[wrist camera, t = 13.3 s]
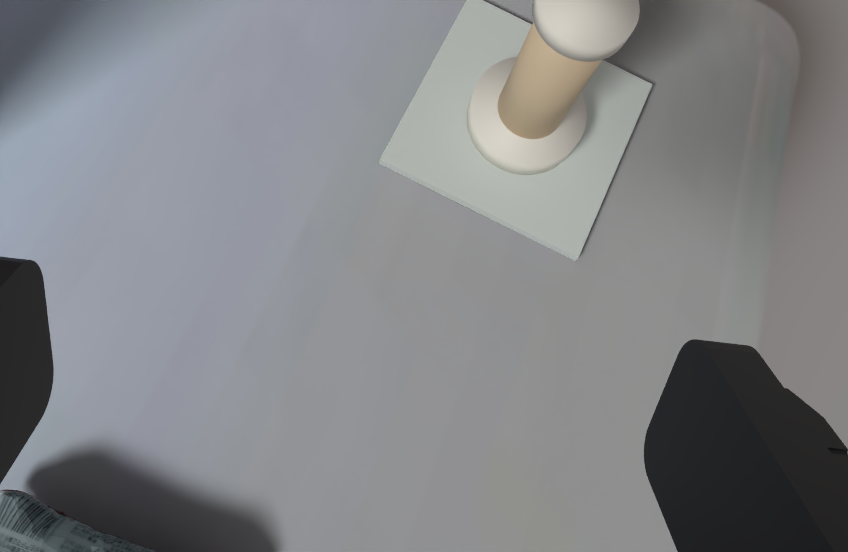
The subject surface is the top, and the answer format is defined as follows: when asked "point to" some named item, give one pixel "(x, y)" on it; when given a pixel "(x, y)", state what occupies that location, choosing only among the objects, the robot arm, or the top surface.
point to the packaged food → (50, 529)
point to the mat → (478, 178)
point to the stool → (546, 84)
